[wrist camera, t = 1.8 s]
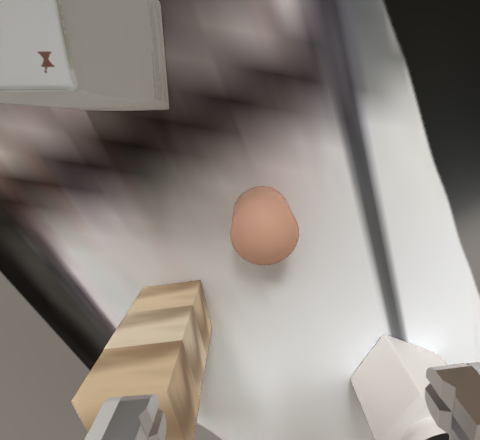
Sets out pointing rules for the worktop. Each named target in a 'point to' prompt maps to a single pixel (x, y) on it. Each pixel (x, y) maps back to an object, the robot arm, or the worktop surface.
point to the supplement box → (83, 54)
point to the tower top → (144, 384)
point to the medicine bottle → (397, 391)
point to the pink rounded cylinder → (263, 226)
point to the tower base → (177, 303)
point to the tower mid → (164, 334)
